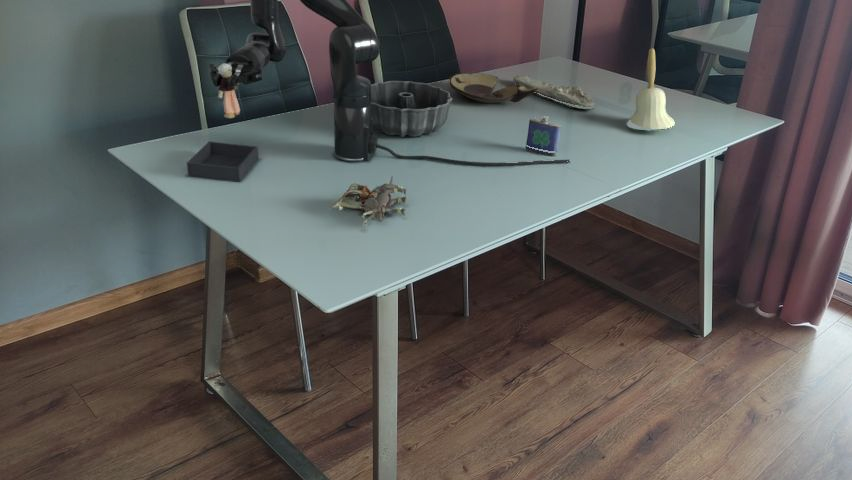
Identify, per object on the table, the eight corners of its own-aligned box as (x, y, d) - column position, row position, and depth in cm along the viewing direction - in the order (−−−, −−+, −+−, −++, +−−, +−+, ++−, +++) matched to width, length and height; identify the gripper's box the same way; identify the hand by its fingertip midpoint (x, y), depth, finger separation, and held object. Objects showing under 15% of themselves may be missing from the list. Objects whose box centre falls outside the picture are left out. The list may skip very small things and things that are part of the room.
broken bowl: (482, 83, 265) (484, 61, 261) (544, 109, 248) (547, 86, 244) (433, 92, 251) (434, 69, 247) (494, 120, 234) (497, 96, 230)
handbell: (665, 137, 232) (667, 53, 221) (618, 133, 239) (618, 52, 228) (680, 125, 244) (684, 44, 233) (636, 121, 251) (637, 43, 240)
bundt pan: (340, 130, 214) (340, 95, 208) (386, 106, 235) (387, 74, 230) (424, 151, 206) (425, 116, 201) (464, 124, 228) (466, 92, 223)
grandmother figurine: (235, 120, 185) (226, 67, 178) (219, 119, 185) (210, 67, 178) (246, 109, 191) (238, 59, 185) (231, 109, 191) (222, 58, 185)
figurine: (405, 211, 162) (325, 208, 160) (404, 235, 166) (326, 232, 164) (407, 169, 179) (334, 165, 177) (406, 191, 182) (335, 188, 180)
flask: (557, 154, 214) (563, 118, 209) (554, 157, 212) (559, 121, 207) (527, 147, 217) (531, 111, 211) (523, 150, 215) (528, 114, 209)
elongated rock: (524, 84, 273) (505, 90, 267) (525, 70, 271) (505, 75, 264) (602, 108, 253) (583, 114, 247) (603, 92, 250) (584, 98, 244)
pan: (258, 159, 191) (257, 146, 189) (239, 181, 179) (238, 168, 177) (210, 154, 191) (208, 141, 189) (188, 176, 179) (186, 162, 177)
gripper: (217, 45, 194) (191, 64, 179) (272, 51, 194) (250, 70, 179) (220, 74, 198) (194, 95, 183) (273, 80, 198) (252, 101, 183)
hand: (222, 83), depth 181 cm, fingers closed on grandmother figurine, 2 cm apart
